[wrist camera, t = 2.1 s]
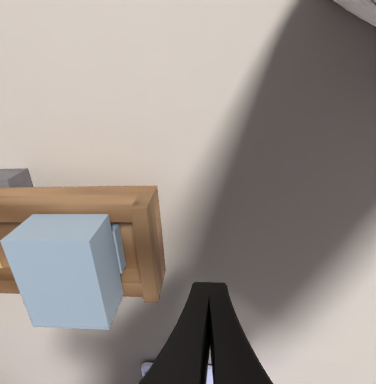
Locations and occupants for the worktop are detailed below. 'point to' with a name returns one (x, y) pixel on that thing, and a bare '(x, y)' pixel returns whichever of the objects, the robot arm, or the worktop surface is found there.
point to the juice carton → (361, 9)
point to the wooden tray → (92, 204)
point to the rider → (68, 269)
